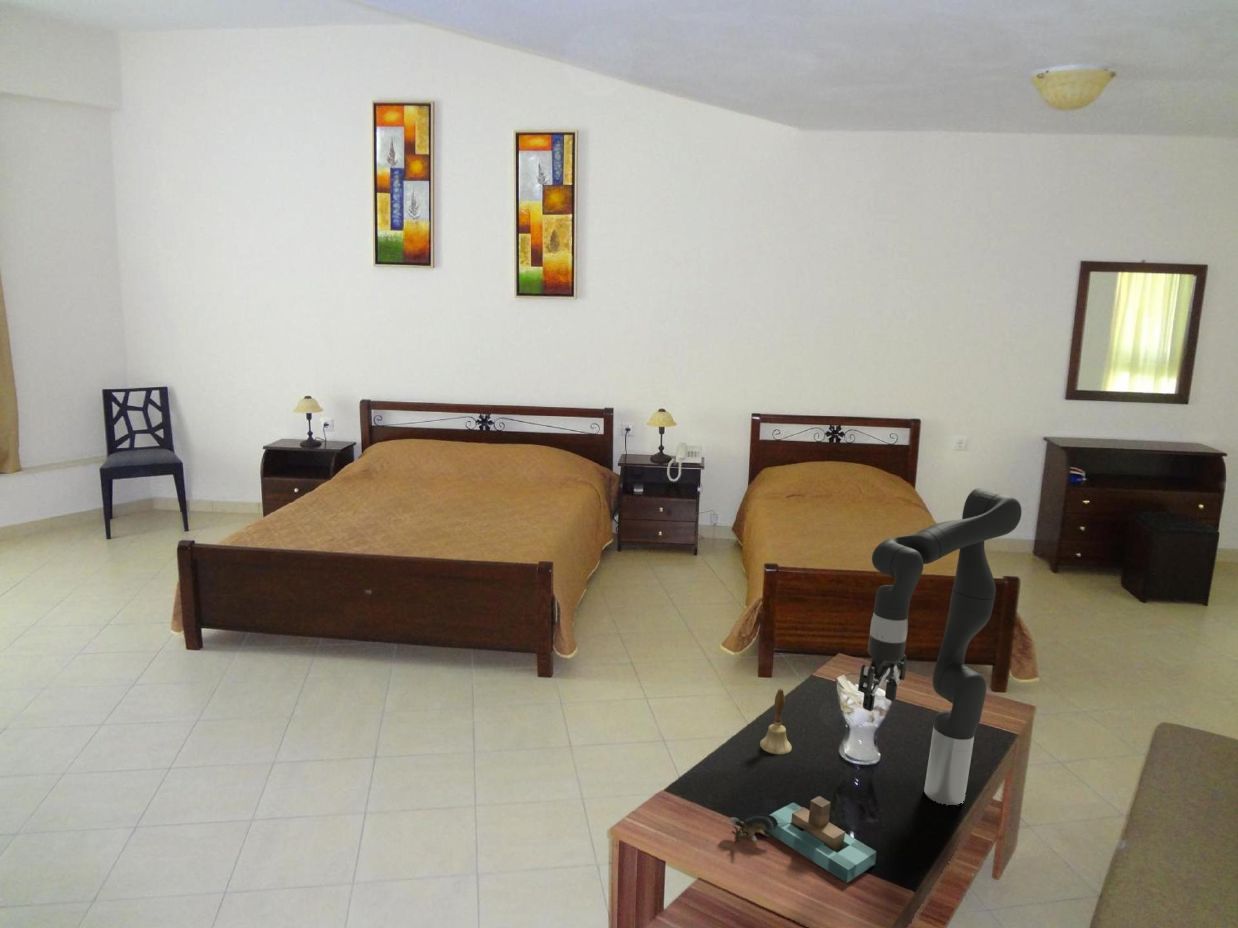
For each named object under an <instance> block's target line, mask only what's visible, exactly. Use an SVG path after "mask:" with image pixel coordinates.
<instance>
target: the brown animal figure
mask: <svg viewBox="0 0 1238 928" xmlns="http://www.w3.org/2000/svg"><path fill="white" fill-rule="evenodd" d="M729 821H730V822H731V823H732V828H734V829H735V831H733V830H732V831H731V833H732V834H733V835H735V840H734V843H735V844H736V843H738V842H740V841H741V839H742V837H744V838H745V836H747V837H748V838H749V839H750V840H751V841H752V842H753V843H754V844H755V846H756V847H757V846H758V839H757V837H756V835H755V833H757V834H761V835H764V836H766V837H770V835H771V834H770V833H768V832H767V831H765V830H767V829H768V830H773V829H775V827H777V825H778V823H777V820H776V818H774V817H773V816H771V815H770V814H767V813H757V814H756V813H755V814H751V815H748V816H747V817H746V818H745V820H744V821H741V820H740V819H739V818H738V817H730V818H729ZM738 827H740V828H738Z"/></svg>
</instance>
